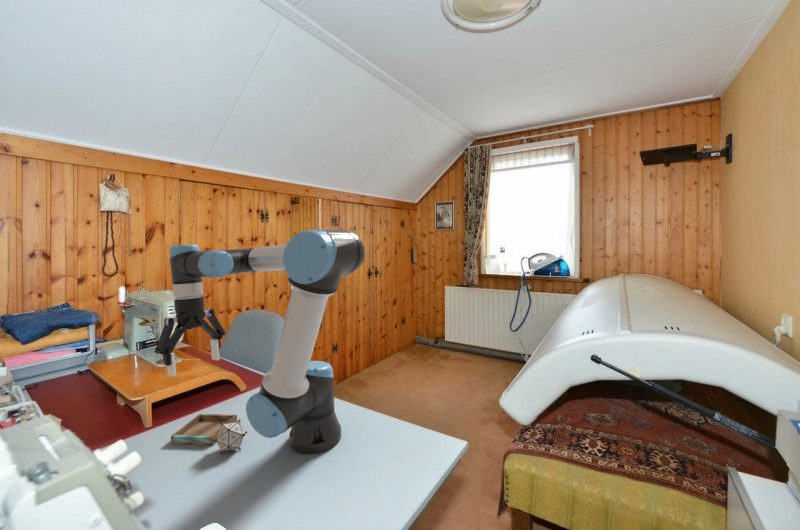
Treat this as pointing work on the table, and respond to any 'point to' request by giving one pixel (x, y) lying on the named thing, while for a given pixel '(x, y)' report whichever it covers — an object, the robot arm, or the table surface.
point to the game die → (230, 436)
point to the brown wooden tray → (202, 429)
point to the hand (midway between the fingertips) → (195, 367)
